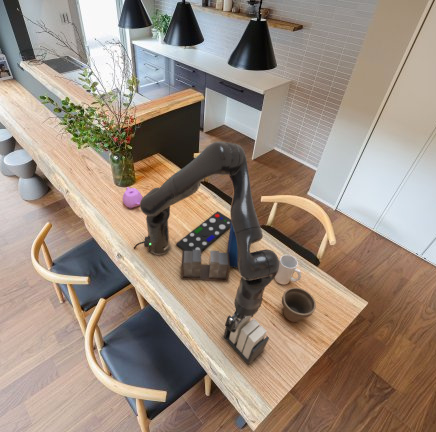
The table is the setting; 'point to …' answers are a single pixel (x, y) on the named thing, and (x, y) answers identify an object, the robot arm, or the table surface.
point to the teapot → (132, 197)
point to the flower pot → (297, 304)
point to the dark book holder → (249, 341)
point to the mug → (287, 270)
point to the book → (232, 248)
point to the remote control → (205, 233)
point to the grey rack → (205, 266)
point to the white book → (239, 330)
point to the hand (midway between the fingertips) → (241, 322)
